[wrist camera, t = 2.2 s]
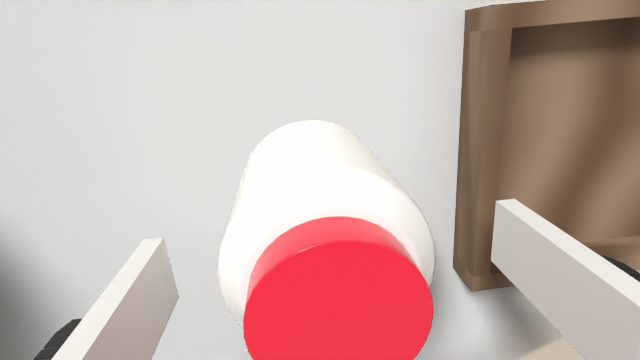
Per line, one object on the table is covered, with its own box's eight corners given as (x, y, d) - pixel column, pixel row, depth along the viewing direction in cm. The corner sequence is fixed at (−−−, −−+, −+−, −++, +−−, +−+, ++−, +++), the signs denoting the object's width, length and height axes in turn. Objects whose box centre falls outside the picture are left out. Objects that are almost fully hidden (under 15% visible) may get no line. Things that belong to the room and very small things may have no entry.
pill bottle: (335, 266, 23) (380, 449, 12) (218, 214, 21) (155, 379, 10) (404, 160, 21) (525, 272, 10) (282, 92, 19) (283, 146, 9)
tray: (452, 267, 23) (471, 291, 21) (465, 10, 18) (492, 4, 16) (671, 238, 24) (712, 258, 22) (742, -14, 19) (806, -22, 17)
